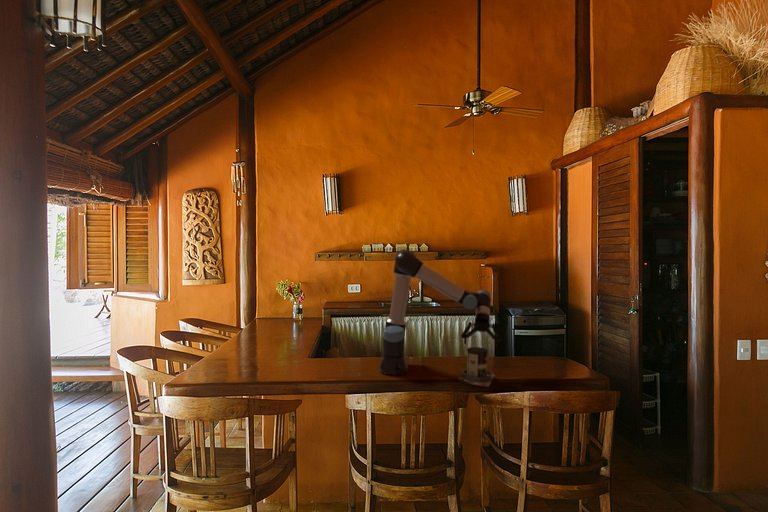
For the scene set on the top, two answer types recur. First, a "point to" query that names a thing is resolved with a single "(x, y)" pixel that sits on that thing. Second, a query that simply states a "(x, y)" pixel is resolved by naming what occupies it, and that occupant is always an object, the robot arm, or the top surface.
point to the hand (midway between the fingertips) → (479, 350)
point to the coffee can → (477, 361)
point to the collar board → (478, 378)
